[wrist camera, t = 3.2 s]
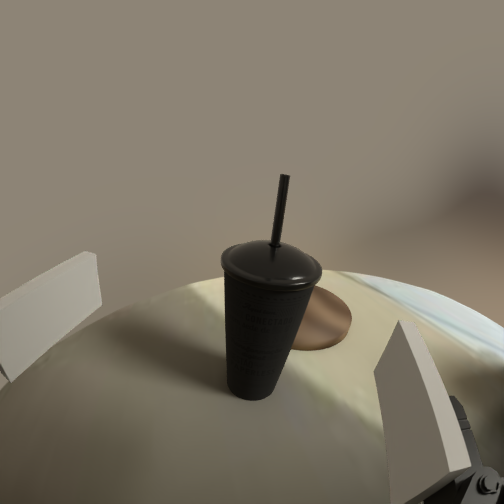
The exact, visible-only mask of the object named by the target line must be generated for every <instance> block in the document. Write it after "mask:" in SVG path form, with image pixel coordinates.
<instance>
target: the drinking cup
mask: <svg viewBox="0 0 504 504" xmlns="http://www.w3.org/2000/svg"><path fill="white" fill-rule="evenodd" d="M289 179H290V176H289V175H284V174H280V180H279V187H278V194H277V195H278V196H277V202H276V209H275V215H274V222H273V230H272V236H271V240H258V241H251V242H247V243H244V244H238V245H234V246H231V247H229V248H228V249H226V250H225V251H224V252H223V253H222V255H221V265H222V268H223V269H224V287H225V331H226V361H227V383H228V387H229V389H230V390H231V391H232V392H233V393H234V394H235V395H236V396H238V397H240V398H242V399H246V400H261V399H264V398H266V397H268V396H269V395H270V394H271V393H272V392H273V390H274V388H275V386H276V383H277V381H278V379H279V376H280V374H281V372H282V369H283V367H284V364H285V362H286V360H287V357H288V355H289V352H290V350H291V347H292V345H293V342H294V340H295V337H296V335H297V332H298V329H299V327H300V324H301V322H302V319H303V316H304V314H305V311H306V308H307V305H308V303H309V300H310V297H311V294H312V291H313V289H314V286H315V284H317V283H318V282H319V280H320V279H321V276H322V267H321V266H320V264H319V263H318V262H317V261H316V260H315V259H314V258H313V257H311V256H309V255H307V254H306V253H304V252H302V251H301V250H299V249H297V248H296V247H294V246H291V245H289V244H286V243H282V242H280V238H281V232H282V225H283V219H284V213H285V206H286V200H287V193H288V186H289Z"/></svg>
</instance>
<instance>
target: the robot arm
mask: <svg viewBox="0 0 504 504" xmlns="http://www.w3.org/2000/svg"><path fill="white" fill-rule="evenodd" d="M100 306H102V300H101V293H100V286H99V278H98V271H97V260H96V254H94V253H90V252H87V251H84V252H82V253H80V254H78V255H76V256H74V257H72V258H70V259H69V260H67V261H65V262H63V263H61V264H59V265H57V266H55V267H54V268H52V269H50V270H48V271H46V272H44V273H43V274H41V275H39V276H37V277H35V278H34V279H32V280H30V281H29V282H27V283H25V284H23V285H22V286H20V287H18V288H17V289H15V290H13V291H12V292H10V293H8V294H7V295H5V296H3V297H2V298H0V371H1V373H2V374H3V375H4V376H5V377H6V378H7V379H8V380H9V381H10V382H12V381H14V380H15V379H16V378H17V377H18V376H19V375H20V374H21V373H22V372H23V371H24V370H26V369H27V368H28V367H29V366H30V365H31V364H32V363H33V362H35V361H36V360H37V359H38V358H39V357H40V356H41V355H42V354H44V353H45V352H46V351H47V350H48V349H49V348H51V347H52V346H53V345H54V344H55V343H56V342H57V341H59V340H60V339H61V338H62V337H64V336H65V335H66V334H67V333H68V332H69V331H71V330H72V329H73V328H74V327H76V326H77V325H78V324H79V323H80V322H82V321H83V320H84V319H85V318H87V317H88V316H89V315H90V314H92V313H93V312H94V311H95V310H97V309H98V308H99V307H100ZM374 376H375V381H376V386H377V391H378V397H379V403H380V409H381V415H382V421H383V428H384V435H385V443H386V452H387V461H388V472H389V485H390V504H418V503H420V502H422V501H424V504H504V477H500V476H499V474H498V472H497V471H496V470H494V469H493V468H491V467H483V464H482V461H481V458H480V454H479V451H478V448H477V445H476V442H475V439H474V436H473V433H472V430H470V428H471V427H470V424H469V422H468V420H467V416H466V414H465V411H464V409H463V406H462V405H461V404H460V402H459V401H458V400H457V399H456V398H455V396H448V394H447V391H446V389H445V386H444V384H443V381H442V379H441V377H440V374H439V372H438V370H437V368H436V365H435V363H434V361H433V359H432V357H431V355H430V352H429V350H428V348H427V346H426V344H425V342H424V340H423V338H422V336H421V334H420V332H419V330H418V328H417V326H416V324H415V322H409V321H402V320H398V322H397V325H396V327H395V329H394V331H393V333H392V336H391V338H390V340H389V342H388V344H387V346H386V348H385V350H384V352H383V354H382V356H381V358H380V360H379V362H378V364H377V366H376V368H375V370H374Z"/></svg>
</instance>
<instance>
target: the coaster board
mask: <svg viewBox="0 0 504 504" xmlns="http://www.w3.org/2000/svg"><path fill="white" fill-rule="evenodd" d="M351 321H352V316H351V312H350V310H349V308H348V306H347V305H346V304H345V303H344V302H343V301H342V300H341V299H340V298H339V297H337V296H336V295H334V294H333V293H331V292H329V291H327V290H325V289H323V288H321V287H318V286H314V289H313V291H312V294H311V297H310V300H309V303H308V305H307V308H306V311H305V314H304V316H303V319H302V322H301V324H300V327H299V329H298V332H297V335H296V337H295V340H294V342H293V345H292V347H291V349H295V350H307V351H309V350H320V349H325V348H329V347H331V346H334V345H336V344H337V343H339V342H341V341H342V340H343V339H344V338H345V336H346V335H347V333H348V330H349V327H350V325H351Z"/></svg>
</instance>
